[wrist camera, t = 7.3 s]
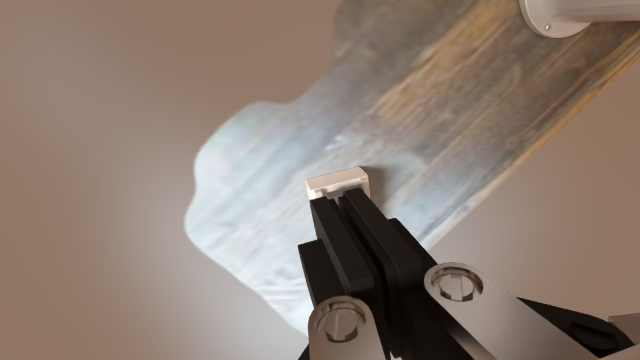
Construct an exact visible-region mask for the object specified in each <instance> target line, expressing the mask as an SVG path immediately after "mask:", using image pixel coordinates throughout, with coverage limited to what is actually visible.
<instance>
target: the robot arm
mask: <svg viewBox="0 0 640 360" xmlns="http://www.w3.org/2000/svg"><path fill="white" fill-rule="evenodd" d="M519 2H520V8H521V12H522V15H523V17H524V20H525V21H526V23H527V24H528V26H529V27H530V28H531V29H532V30H533V31H534V32H535V33H537V34H539V35H541V36H543V37H548V38H563V37H568V36H571V35H574V34H576V33H578V32H580V31H581V30H583V29H584V28H586V27H587V26H588V25H589V24H591V23H592V22H608V21H634V20H640V0H519ZM338 204H339V206H338ZM338 204H337V203H336V201H335V199H334V198H332V199H328V198H327V196H323V197H319V198H315V199H311V200H310V207H311V212H312V217H313V222H314V227H315V231H316V236H317V240H314V241H311V242H307V243H304V244H300V245H298V250H299V255H300V259H301V263H302V267H303V271H304V275H305V279H306V282H307V286H308V290H309V293H310V296H311V300H312V303H313V306H314V310H313V311H312V313H311V315H310V317H309V321H308V337H309V344H308V346H307V347H306V349H305V350H304V351H303V353H302V355H301V356H300V357H299V359H298V360H391V356H390V351H391V353H392V355H393V357H394V358H398V357H401V359H402V360H640V313H634V314H625V315H617V316H616V315H615V316H608V318H607V321H604V320H602V319H599V318H597V317H594V316H591V315H588V314H584V313H579V312H576V311H572V310H568V309H563V308H559V307H555V306H551V305H547V304H543V303H539V302H535V301H531V300H527V299H523V298H519V297H515V296H514V295H512V294H511V293H510V292H508V291H507V290H505V289H504V288H503V287H501V286H500V285H499V284H497V283H496V282H494V281H493V280H492V279H491V278H489V277H488V276H486V275H485V274H484V273H482V272H481V271H479V270H478V269H476V268H474V267H472V266H469V265H466V264H463V263H455V262H448V263H442V264H437V263H436V261H435V260H434V259H433V258H432V257H431V256H430V255H429V254H428V253H427V251H426V250H425V249H424V248H423V247H422V246H421V245H420V244H419V242H418V241H417V240H416V239H415V238H414V237H413V236H412V235H411V234H410V232H409V231H408V230H407V229H406V228H405V227H404V226H403V225H402V223H401V222H400V221H399V220H398V219H396V218H392V219H388V220H387V218H386V217H385V216H384V215H383V214H382V212H381V211H380V210H379V209H378V208H377V207H376V205H375V204H374V203H373V202H372V201H371V199H370V198H369V197H368V196H367V195H366V193H365V192H364V191H363V190H362V189H361V188H360V187H357V188H353V189H349V190H345V191H343V196H340V197H338Z"/></svg>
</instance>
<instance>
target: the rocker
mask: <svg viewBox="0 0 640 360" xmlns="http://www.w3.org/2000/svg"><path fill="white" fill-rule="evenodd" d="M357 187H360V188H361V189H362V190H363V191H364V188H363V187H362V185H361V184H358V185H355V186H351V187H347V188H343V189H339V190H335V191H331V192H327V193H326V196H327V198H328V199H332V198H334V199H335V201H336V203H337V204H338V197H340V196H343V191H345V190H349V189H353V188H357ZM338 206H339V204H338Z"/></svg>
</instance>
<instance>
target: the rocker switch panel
mask: <svg viewBox="0 0 640 360" xmlns="http://www.w3.org/2000/svg"><path fill="white" fill-rule="evenodd" d="M305 181H306V186H307V191H308V196H309V201H310V200H311V199H315V198H319V197H323V196H326V193H327V192H331V191H335V190H339V189H343V188H347V187H351V186H355V185H358V184H361V185H362V187H363V188H364V192H365V193H366V195H367V196H368V197H369V198H370V190H369V180H368V175H367V174H366V173H365V172H364V171H363V170H362V169H361V168H360V167H355V168H351V169H347V170H343V171H338V172H334V173H330V174H326V175H322V176H318V177H314V178H310V179H306V180H305ZM315 232H316V231H315ZM316 237H317V236H316Z"/></svg>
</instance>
